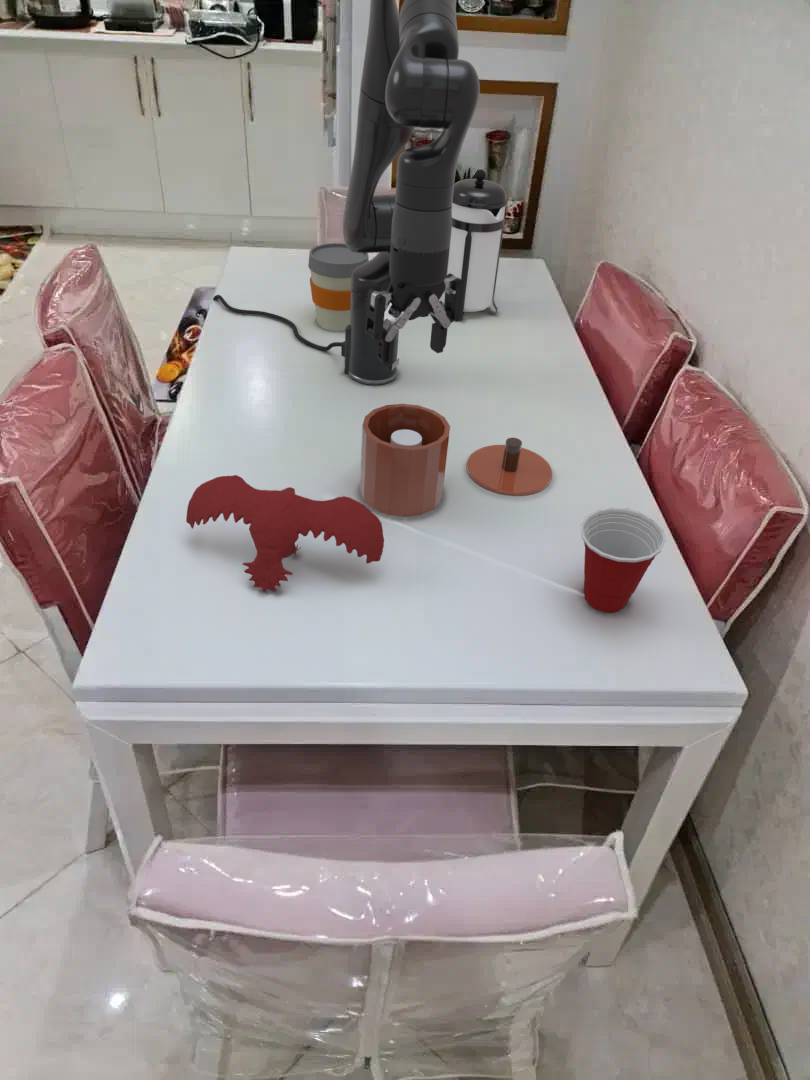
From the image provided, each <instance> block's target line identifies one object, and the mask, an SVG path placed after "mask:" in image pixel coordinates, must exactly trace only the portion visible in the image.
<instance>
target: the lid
mask: <svg viewBox="0 0 810 1080" xmlns="http://www.w3.org/2000/svg"><path fill="white" fill-rule="evenodd" d="M522 446H523V441H522V440H521V439H520V438H517V437H508V438H506V440H505V443H504V444H492V445H488V446H483V447H481V448H478V449H476V450H475V451H473V452H472V453H471V454H470V455H469V457H468V459H467V461H466V471H467V474H468V476H469V477H470V478H471V479H472V481H473V482H475V483H476V484H477V485H479V486H480V487H482V488H484V489H486V490H488V491H491V492H493V493H497V494H500V495H506V496H516V497H517V496H518V497H519V496H527V495H534V494H537V493H539V492H542V491H543V490H545V489H546V488H547V487H548V485H550V483H551V481H552V478H553V470H552V467H551V465H550V463H549V462H548V461H547V460H546V459H545V458H544V457H543V456H542V455H540V454H539V453H537V452H534V451H532V450H530V449H528V448H524V447H522Z"/></svg>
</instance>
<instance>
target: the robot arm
mask: <svg viewBox="0 0 810 1080" xmlns="http://www.w3.org/2000/svg"><path fill="white" fill-rule="evenodd" d="M369 7H370V8H369V17H368V18H369V19H368V27H367V28H368V30H367V38H366V44H365V45H366V46H365V52H364V60H363V67H362V74H361V80H360V89H359V97H358V108H357V121H356V131H355V143H354V151H353V159H352V166H351V171H350V176H349V181H348V187H347V192H346V197H345V203H344V209H343V216H342V217H343V218H342V233H343V234H342V235H343V241H344V244H346V246H347V247H348V249H349V250H351V251H352V252H356V253H368V254H371V253H377V254H376V255H375V256H374V257H373V258H372V259H369V261H368V262H366V263H364V264H362V265H360V266H358V267H357V268H355V269H354V271H353V272H352V275H351V305H350V324H349V325H348V326H346V329H345V331H344V333H345V334H344V335H345V336H344V341H334V342H331V343H329V344H328V345H327V346H323V345H319V344H316V343H314V342H311V341H309V340H308V339H306V338H304V337H303V336H302V335H300V332H299V331H298V328H297V325H296V324H295V323H294V322H293V321H291V320H290V319H288V318H286V317H283V316H280V315H279V314H274V313H271V312H267V311H261V310H252V309H242V308H241V309H240V308H237V307H233V306H231V305H229V303H227V301H226V300H225V299H224V297H223V296H222V295H221V294H216V295H214V297H213V298H212V300H213V301H217V300H219V301H220V303H221V304H222V306H224V308H226V309H227V310H228V311H230V312H232V313H236V314H243V315H256V316H263V317H267V318H271V319H275V320H277V321H281V322H283V323H285V324H286V325H288V326H290V327H291V328H292V330H293V334H294V336H295V337H296V339H297V340H299V341H300V342H301V343H303V344H304V345H306V346H308V347H309V348H312V349H315V350H318V351H324V352H327V351H330V350H331V349H333V348H335V347H340V349H341V350H340V351H341V352H340V354H341V355H340V356H341V357H344V374H346V375H349V377H350V378H351V379H352V380H354V381H355V382H358V383H360V384H365V385H383V384H388V383H391V382H392V381H394V380H395V379H396V377H397V374H398V370H397V369H398V366H399V364H400V357H398V353H399V352H398V351H399V336H400V330H401V329H403V328H404V327H405V325H406V324H407V322H408V321H414V320H416V319H418V318H427V317H429V316H430V317H431V319H432V320H433V323H431V331H430V342H429V347H430V349H431V350H432V351H433V352H434V353H436V354H441V353H443V352H444V349H445V347H446V345H447V336H448V330H449V329H448V328H450V326H451V324H452V323H453V322H460V321H459V320H460V319H461V313H462V298H463V284H464V282H463V280H461V279H460V278H458V277H456V276H454V275H453V274H451V273H450V274H448V275H447V270H448V260H449V250H450V241H451V231H452V200H453V190H454V184H455V180H456V173H457V167H458V162H459V158H460V155H461V151H462V148H463V145H464V142H465V139H466V136H467V134H468V131H469V129H470V126H471V124H472V121H473V118H474V116H475V113H476V110H477V107H478V104H479V100H480V94H481V93H480V92H481V83H480V78H479V74H478V73H477V70H476V68H475V67H474V65H473V64H472V63H471V62H469V61H467V60H464V59H459V55H460V43H459V32H458V23H457V21H458V20H457V0H403V2H402V4H401V7H400V11H399V8H398V3H397V0H370V5H369ZM416 128H421V129H436V130H441V129H442V132H441V133H440V134H439V136H438V137H437V139H435V140H434V141H432V142H431V143H428V144H423V145H417V146H413V147H409V148H406V149H404V148H405V146H406V145H407V144H408V142H409V141H410V140H411V138H412V136H413V134H414V132H415V130H416ZM398 155H399V156H398ZM397 157H398V159H397V166H396V182H395V194H394V193H393V194H390V193H389V194H375V192H376V188H377V186H378V184H379V182H380V180H381V178H382V176H383V175H384V173H385V172H386V171H387V169H388V168H389V166H390V165H391V164H392V163H393V161H394V160H395V159H396V158H397ZM445 278H446V279H445ZM444 292H445V302H444V303H443V305H442V303H440V300H441V299H440V298H441V296H442V295H443V293H444ZM443 306H444V307H443Z"/></svg>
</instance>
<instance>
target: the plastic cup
mask: <svg viewBox="0 0 810 1080" xmlns="http://www.w3.org/2000/svg"><path fill="white" fill-rule="evenodd" d="M579 527H580V528H579V529H580V537H581V539H582V541H583V543H584V564H583V565H584V568H583V576H584V580H583V581H584V582H583V594H584V600H585V601H586V603H587V604H588V605H589V606H591V608H593V609H594V610H597V611H598V612H602V613H608V614H609V613H610V614H612V613H618V612H619V611H621V610H623V609H624V608H625V607H626V606H627V604H628V602H629V600H630V599H631V597H632V595H633V594H634V593H635V592H636V590H637V588H638V586H639V584H640V583H641V581H642V579H643V577H644V576H645V574H646V572H647V570H648V569H649V567H650V566H651V564H652V562H653V561H654V560H655V558H656V557H657V555H659V554H660V553H661V552H662V551H663V549H664V546H665V544H666V542H667V536H666V533H665V529H664V528H663V527H662V526H661V525H660V524H659V523H658V521H657V520H656V519H654V518H652V517H651V516H649V515H647V514H645V513H643V512H641V511H637V510H634V509H631V508H627V507H607V508H602V509H597V510H594V511H593V512H591V513H590V514H588V515H586V516H585V517H584V518H583V520H582V521H581V524H580V525H579Z"/></svg>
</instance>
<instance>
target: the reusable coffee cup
mask: <svg viewBox="0 0 810 1080" xmlns="http://www.w3.org/2000/svg"><path fill="white" fill-rule="evenodd" d="M369 258H370V257H369V253H356V252H352V251H351V250H349V249H348V247H347V246H346V243H342V242H332V243H322V244H319V245H316V246H314V247H312V248H311V249H310V250H309V253H308V263H307V264H308V265H307V267H308V269H309V270H310V278H309V284H310V285H309V286H310V291H311V292H310V293H311V300H312V302H313V304H314V307H315V315H316V321H317V325H318V326H319V327H320V328H322V329H324V330H326V331H329V332H330V331H331V332H339V333H341V332H342V333H343V332H345V329H346V326H348V325H349V324H350V305H351V275H352V272H353V271H354V269H355V268H357V267H358V266H360V265H362V264H364V263H366V262H368V261H370V259H369Z"/></svg>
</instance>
